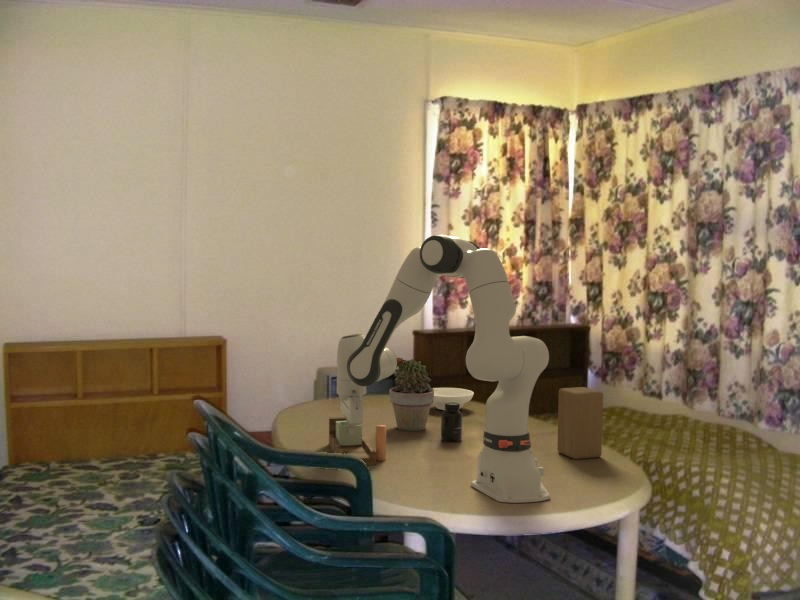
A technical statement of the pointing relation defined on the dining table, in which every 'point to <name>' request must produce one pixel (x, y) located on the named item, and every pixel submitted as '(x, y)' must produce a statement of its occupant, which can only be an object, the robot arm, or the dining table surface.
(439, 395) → the bowl
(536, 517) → the dining table surface
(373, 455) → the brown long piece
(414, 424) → the potted plant
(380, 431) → the dowel
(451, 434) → the supplement bottle
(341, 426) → the socket block
